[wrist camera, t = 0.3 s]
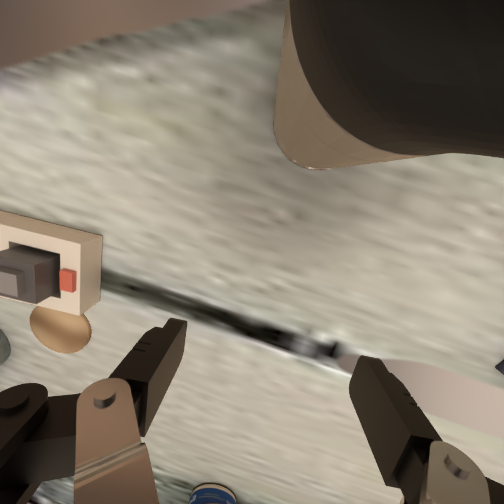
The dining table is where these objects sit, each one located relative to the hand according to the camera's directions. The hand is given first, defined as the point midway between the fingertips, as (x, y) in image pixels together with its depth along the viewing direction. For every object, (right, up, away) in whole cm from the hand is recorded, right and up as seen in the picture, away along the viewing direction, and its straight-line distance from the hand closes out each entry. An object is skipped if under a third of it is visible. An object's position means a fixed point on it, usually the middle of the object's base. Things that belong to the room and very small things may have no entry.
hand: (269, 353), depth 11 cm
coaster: (-27, -6, +22) cm, 35 cm away
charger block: (-25, +4, +19) cm, 31 cm away
